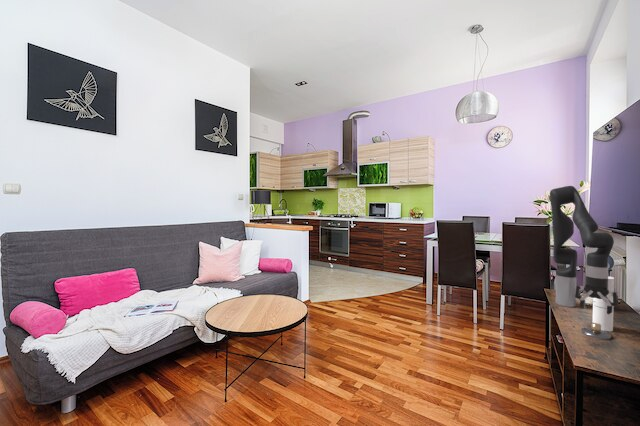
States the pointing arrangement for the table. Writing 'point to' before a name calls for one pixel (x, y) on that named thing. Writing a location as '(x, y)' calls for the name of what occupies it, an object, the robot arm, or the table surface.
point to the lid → (596, 332)
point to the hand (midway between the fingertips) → (595, 311)
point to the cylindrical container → (604, 309)
